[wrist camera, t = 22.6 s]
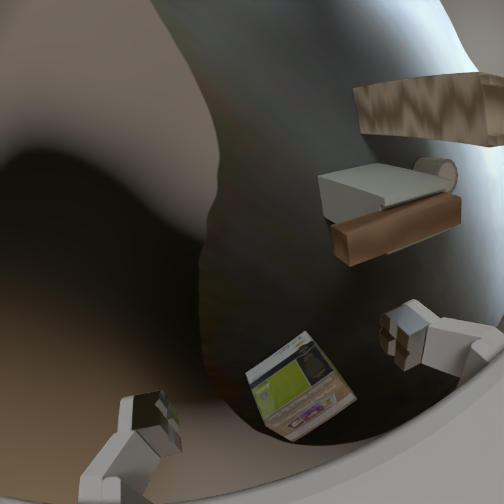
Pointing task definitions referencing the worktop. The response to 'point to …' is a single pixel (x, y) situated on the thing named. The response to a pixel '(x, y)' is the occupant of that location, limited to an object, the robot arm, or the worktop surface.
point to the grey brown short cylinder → (438, 169)
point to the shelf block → (435, 108)
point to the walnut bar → (394, 227)
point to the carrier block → (375, 191)
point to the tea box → (298, 388)
